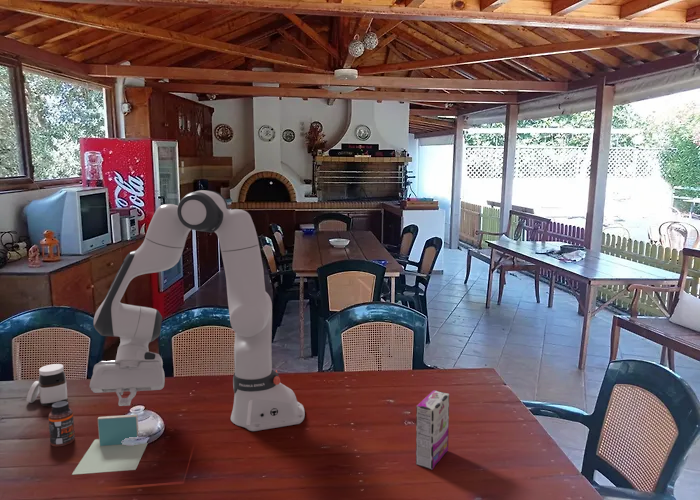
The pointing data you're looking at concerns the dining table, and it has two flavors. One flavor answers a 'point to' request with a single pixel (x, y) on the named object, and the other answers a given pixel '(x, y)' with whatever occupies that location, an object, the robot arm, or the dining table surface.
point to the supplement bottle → (61, 424)
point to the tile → (117, 429)
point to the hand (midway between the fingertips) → (124, 405)
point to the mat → (110, 458)
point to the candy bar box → (432, 429)
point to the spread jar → (49, 385)
